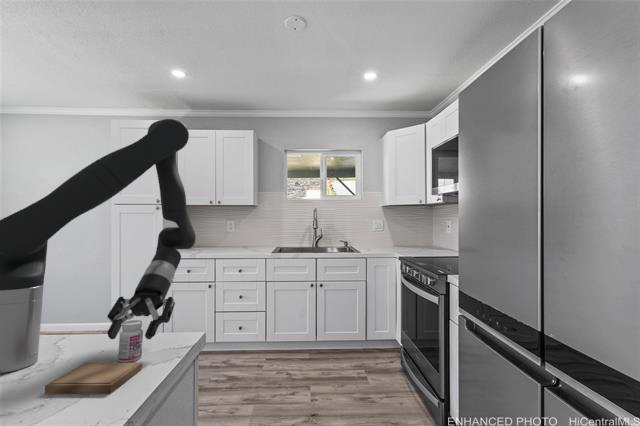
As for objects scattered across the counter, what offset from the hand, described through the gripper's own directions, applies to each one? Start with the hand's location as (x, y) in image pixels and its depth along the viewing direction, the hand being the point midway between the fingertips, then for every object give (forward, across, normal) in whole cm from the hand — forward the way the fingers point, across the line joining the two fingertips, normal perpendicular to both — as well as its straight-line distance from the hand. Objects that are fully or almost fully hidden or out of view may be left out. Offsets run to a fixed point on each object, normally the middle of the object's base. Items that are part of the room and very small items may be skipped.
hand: (129, 337), depth 71 cm
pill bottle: (+3, 0, +4) cm, 5 cm away
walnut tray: (+11, 0, -4) cm, 11 cm away
